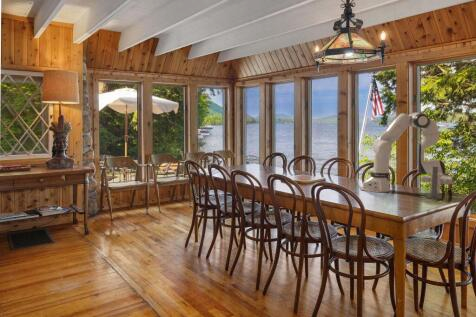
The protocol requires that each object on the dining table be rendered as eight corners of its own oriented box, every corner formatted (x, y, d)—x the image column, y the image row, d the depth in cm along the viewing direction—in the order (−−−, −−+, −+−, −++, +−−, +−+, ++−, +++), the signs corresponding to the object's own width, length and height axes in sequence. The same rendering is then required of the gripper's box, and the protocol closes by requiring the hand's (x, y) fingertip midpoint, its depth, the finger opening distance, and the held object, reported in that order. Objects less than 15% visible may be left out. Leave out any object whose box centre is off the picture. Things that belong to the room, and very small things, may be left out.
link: (429, 193, 267) (430, 173, 265) (430, 191, 271) (431, 172, 270) (439, 193, 264) (440, 173, 262) (439, 192, 268) (440, 172, 267)
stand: (426, 198, 263) (427, 166, 260) (427, 195, 272) (429, 165, 270) (441, 199, 258) (442, 167, 256) (442, 196, 267) (443, 165, 265)
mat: (419, 195, 274) (419, 194, 274) (420, 193, 281) (420, 192, 281) (431, 196, 270) (431, 195, 270) (432, 194, 277) (432, 193, 277)
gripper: (422, 173, 290) (420, 176, 278) (452, 175, 280) (452, 178, 268) (421, 182, 291) (419, 184, 279) (452, 184, 280) (451, 186, 269)
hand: (435, 181), depth 273 cm, fingers open, 8 cm apart
